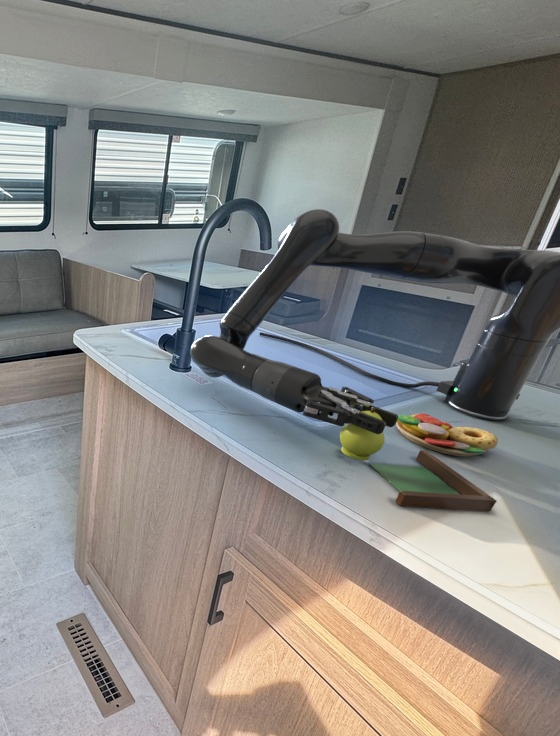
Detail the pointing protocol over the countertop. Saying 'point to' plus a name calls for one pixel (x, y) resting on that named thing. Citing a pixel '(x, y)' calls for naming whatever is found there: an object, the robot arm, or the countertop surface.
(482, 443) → the toy food set
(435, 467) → the corner fence
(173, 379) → the countertop surface
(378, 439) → the pear
